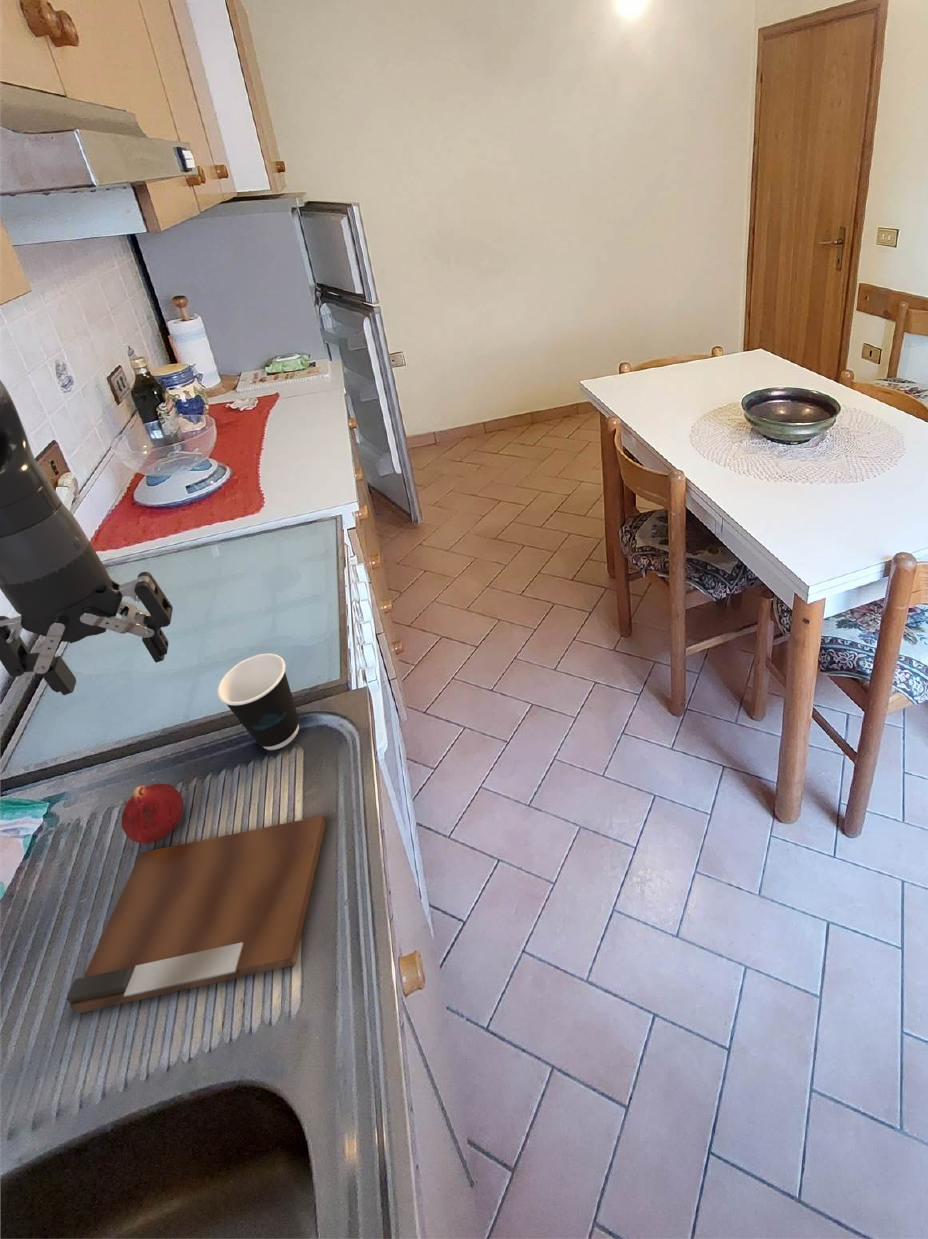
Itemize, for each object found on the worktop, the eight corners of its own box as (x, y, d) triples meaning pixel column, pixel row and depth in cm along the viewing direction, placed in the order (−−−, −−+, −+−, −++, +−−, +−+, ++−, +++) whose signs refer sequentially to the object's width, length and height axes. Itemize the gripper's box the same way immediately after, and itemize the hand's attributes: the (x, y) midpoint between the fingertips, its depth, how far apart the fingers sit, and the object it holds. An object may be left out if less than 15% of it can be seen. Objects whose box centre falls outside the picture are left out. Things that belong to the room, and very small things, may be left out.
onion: (196, 836, 74) (167, 795, 70) (139, 868, 71) (106, 827, 68) (191, 798, 78) (164, 757, 75) (137, 826, 76) (106, 786, 72)
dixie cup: (278, 769, 81) (247, 711, 76) (234, 750, 84) (202, 693, 79) (323, 718, 87) (298, 661, 82) (281, 702, 90) (254, 646, 85)
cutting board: (75, 1017, 60) (62, 1005, 59) (145, 860, 72) (136, 847, 71) (294, 968, 62) (286, 955, 61) (326, 823, 74) (319, 810, 73)
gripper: (131, 512, 67) (192, 625, 75) (-37, 559, 62) (48, 674, 70) (119, 551, 61) (186, 670, 69) (-68, 606, 56) (28, 727, 64)
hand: (116, 672), depth 69 cm, fingers open, 8 cm apart
